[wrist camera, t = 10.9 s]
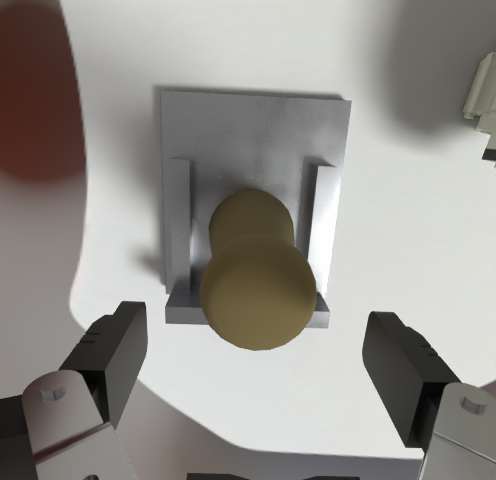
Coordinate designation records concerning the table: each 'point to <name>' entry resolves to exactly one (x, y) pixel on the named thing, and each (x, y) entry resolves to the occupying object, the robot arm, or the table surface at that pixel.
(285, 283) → the cork
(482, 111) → the pneumatic valve
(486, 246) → the table surface
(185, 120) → the bracket
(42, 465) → the robot arm
